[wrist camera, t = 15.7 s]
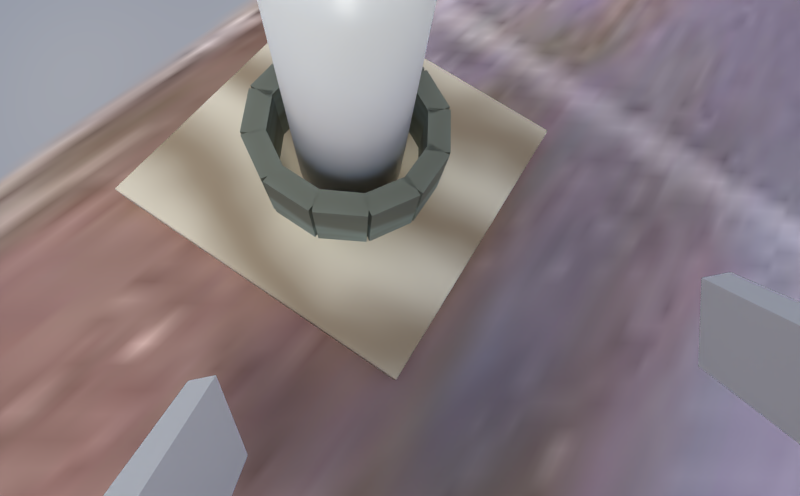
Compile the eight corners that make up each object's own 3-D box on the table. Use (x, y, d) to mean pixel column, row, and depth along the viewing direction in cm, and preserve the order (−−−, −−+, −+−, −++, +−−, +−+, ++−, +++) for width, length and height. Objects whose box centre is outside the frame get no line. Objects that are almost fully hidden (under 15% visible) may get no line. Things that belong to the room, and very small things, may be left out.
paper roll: (338, 98, 25) (324, -141, 14) (420, 149, 24) (477, -57, 13) (276, 168, 23) (200, -44, 12) (364, 224, 22) (374, 59, 11)
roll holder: (318, 8, 28) (312, -58, 24) (540, 139, 27) (575, 93, 22) (125, 197, 23) (71, 153, 18) (394, 379, 21) (404, 378, 17)
